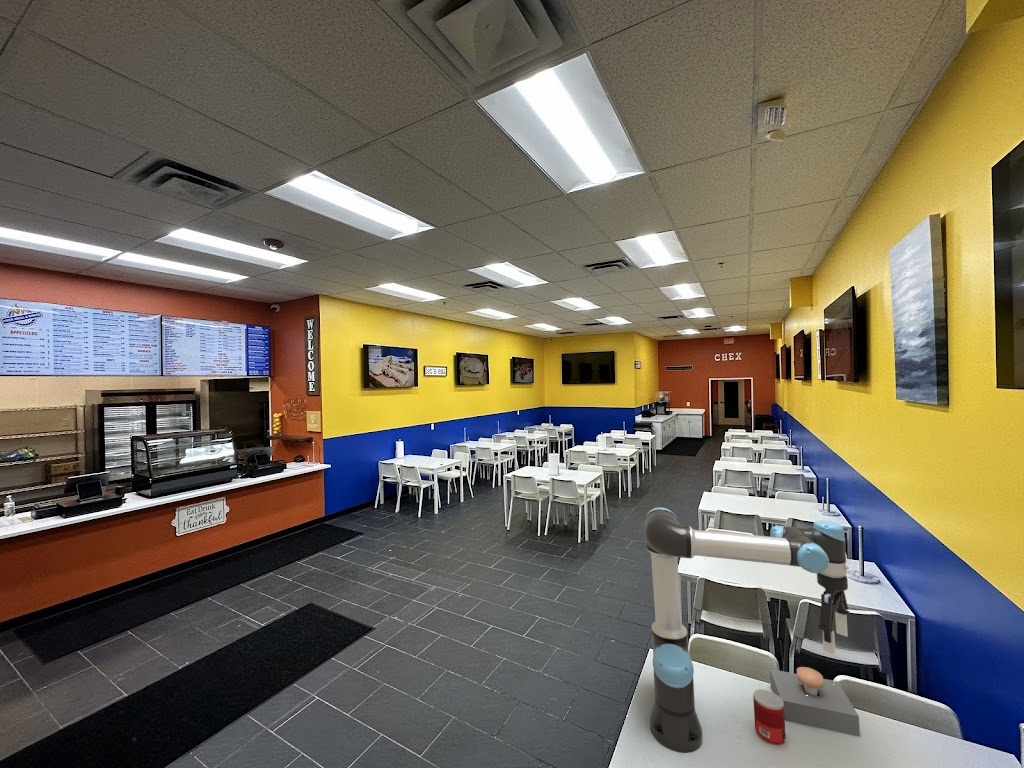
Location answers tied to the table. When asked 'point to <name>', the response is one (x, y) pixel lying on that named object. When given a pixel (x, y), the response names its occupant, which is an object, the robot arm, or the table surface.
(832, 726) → the control box
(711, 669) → the table surface
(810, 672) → the knob
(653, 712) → the robot arm
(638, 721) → the table surface
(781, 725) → the canned food
